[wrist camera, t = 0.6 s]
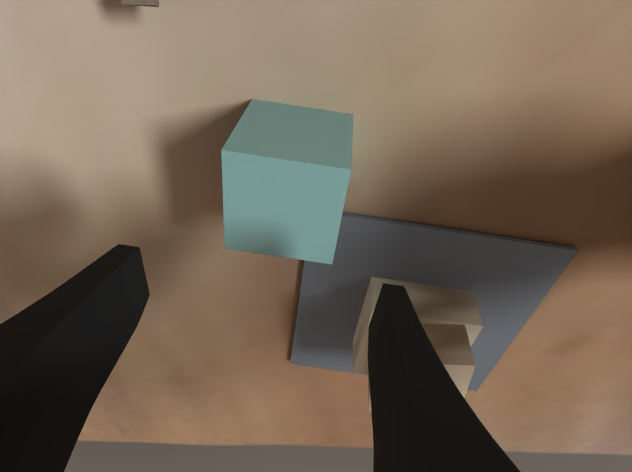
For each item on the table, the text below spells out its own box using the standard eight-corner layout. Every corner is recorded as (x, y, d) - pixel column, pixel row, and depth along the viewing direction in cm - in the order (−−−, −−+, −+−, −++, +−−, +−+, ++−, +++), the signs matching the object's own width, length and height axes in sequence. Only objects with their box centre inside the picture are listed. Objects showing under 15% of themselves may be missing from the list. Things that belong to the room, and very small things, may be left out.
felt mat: (575, 247, 21) (577, 250, 21) (475, 387, 30) (476, 390, 29) (311, 207, 21) (311, 211, 20) (290, 360, 29) (290, 363, 29)
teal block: (353, 113, 17) (350, 169, 14) (337, 198, 20) (332, 264, 16) (252, 98, 17) (221, 150, 14) (250, 185, 20) (224, 248, 16)
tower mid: (464, 324, 21) (475, 365, 19) (450, 376, 24) (457, 416, 22) (370, 321, 22) (371, 361, 20) (368, 373, 25) (368, 411, 23)
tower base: (473, 291, 23) (483, 326, 21) (440, 351, 27) (446, 385, 25) (371, 276, 23) (372, 309, 21) (353, 338, 27) (352, 371, 25)
